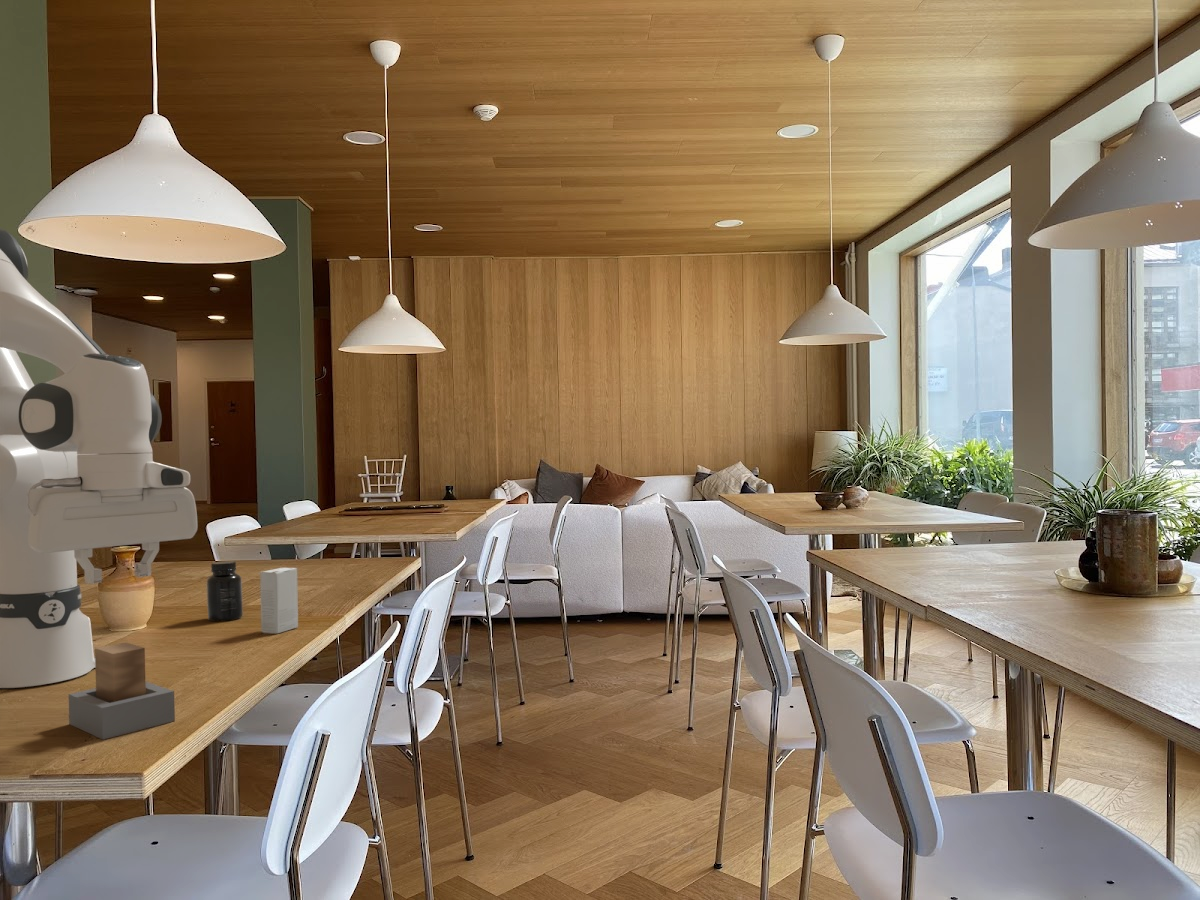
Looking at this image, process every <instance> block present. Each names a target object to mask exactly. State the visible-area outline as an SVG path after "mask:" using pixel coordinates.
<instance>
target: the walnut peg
mask: <svg viewBox="0 0 1200 900" xmlns="http://www.w3.org/2000/svg"><path fill="white" fill-rule="evenodd" d="M94 657H95V688H96V698H98V699H101V700H103V701H106V702H109V703H112V702H116V701H121V700H125V699H129V698H134V697H138V696H142V695H146V682H147V681H146V658H145V657H146V649H145V647H143V646H140V645H136V644H134V643H130V642H123V643H116V644H112V645H106V646H100V647H95V648H94Z"/></svg>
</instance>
